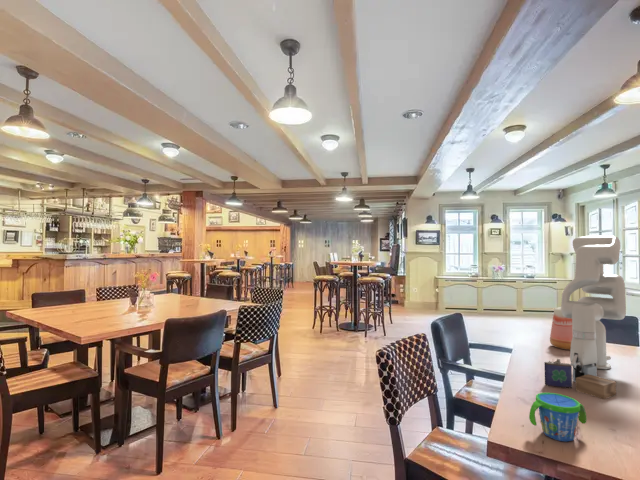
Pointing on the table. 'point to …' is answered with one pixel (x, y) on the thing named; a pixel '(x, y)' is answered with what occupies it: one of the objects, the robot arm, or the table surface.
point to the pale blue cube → (587, 371)
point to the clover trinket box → (558, 374)
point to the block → (596, 386)
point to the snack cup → (558, 415)
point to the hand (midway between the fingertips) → (584, 380)
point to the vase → (561, 330)
